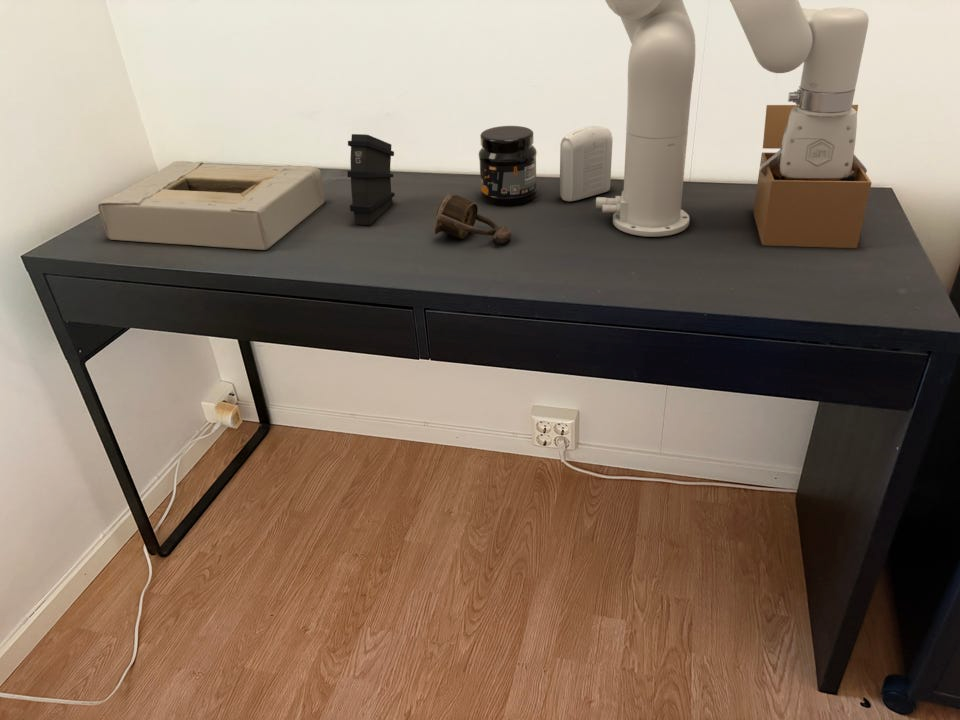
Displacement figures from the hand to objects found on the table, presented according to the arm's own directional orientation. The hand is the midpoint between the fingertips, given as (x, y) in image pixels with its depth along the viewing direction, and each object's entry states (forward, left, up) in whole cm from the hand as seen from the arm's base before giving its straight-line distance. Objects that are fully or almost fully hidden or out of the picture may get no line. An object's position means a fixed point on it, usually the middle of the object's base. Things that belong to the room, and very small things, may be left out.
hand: (804, 214), depth 123 cm
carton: (0, 0, -3) cm, 3 cm away
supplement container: (-50, +12, -3) cm, 51 cm away
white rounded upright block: (-36, +14, -3) cm, 39 cm away
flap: (0, +8, +12) cm, 14 cm away
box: (-101, -3, -3) cm, 101 cm away
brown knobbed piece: (-53, -8, -3) cm, 54 cm away
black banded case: (-73, +3, -3) cm, 73 cm away
